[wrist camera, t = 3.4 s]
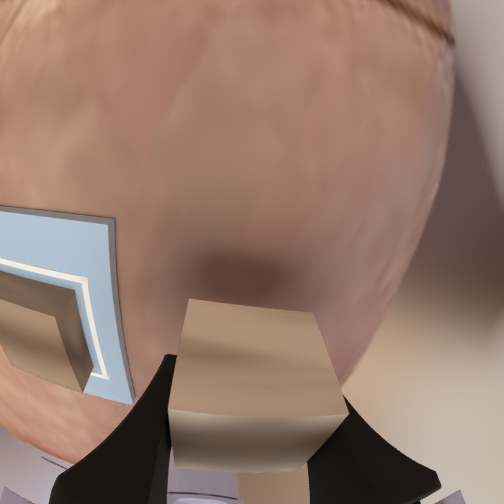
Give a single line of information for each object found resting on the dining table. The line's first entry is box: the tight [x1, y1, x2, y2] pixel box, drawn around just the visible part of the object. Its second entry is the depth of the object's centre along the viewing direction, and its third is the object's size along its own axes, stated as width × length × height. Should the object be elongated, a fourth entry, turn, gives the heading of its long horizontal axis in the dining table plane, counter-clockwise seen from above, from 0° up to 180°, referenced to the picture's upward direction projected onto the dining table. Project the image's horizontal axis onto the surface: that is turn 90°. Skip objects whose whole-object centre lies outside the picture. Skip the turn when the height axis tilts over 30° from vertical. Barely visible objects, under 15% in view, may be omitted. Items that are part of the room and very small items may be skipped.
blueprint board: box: [0, 206, 135, 405], centre depth 17 cm, size 18×14×1 cm
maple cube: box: [168, 299, 349, 473], centre depth 10 cm, size 5×5×5 cm
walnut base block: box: [0, 271, 94, 393], centre depth 16 cm, size 8×8×3 cm
